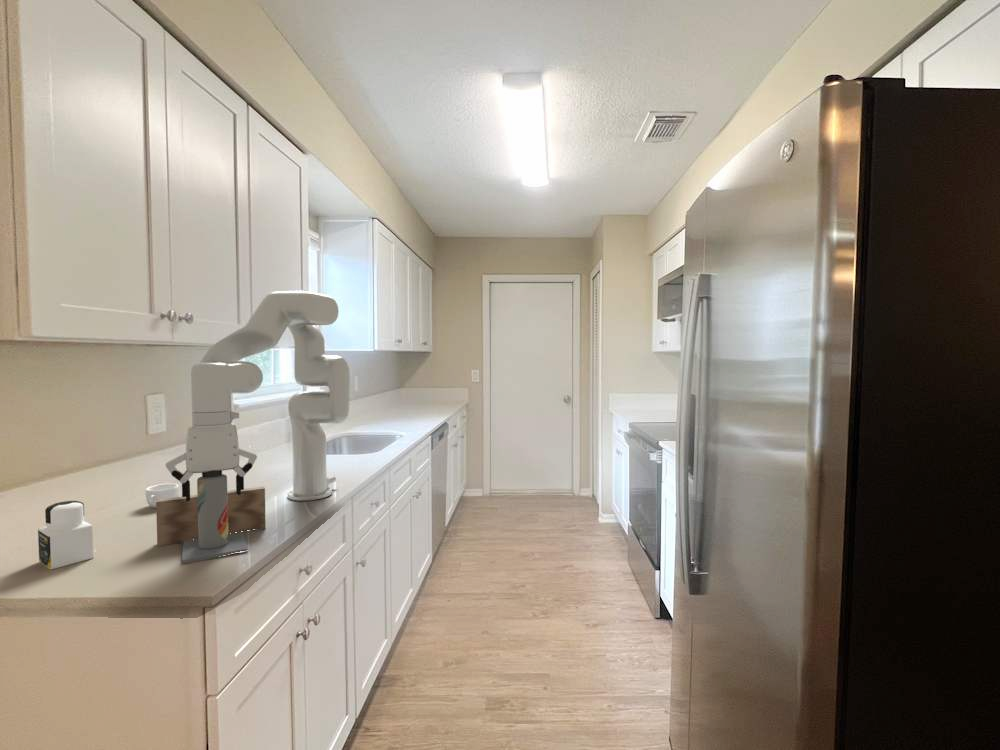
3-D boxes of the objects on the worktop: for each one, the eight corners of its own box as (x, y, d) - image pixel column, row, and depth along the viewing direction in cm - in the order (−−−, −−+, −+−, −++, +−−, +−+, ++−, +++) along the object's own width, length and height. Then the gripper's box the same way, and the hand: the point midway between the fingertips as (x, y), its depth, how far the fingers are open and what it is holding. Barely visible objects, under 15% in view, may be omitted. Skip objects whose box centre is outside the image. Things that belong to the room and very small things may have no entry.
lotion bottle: (233, 539, 113) (231, 452, 112) (219, 549, 107) (217, 458, 106) (208, 539, 113) (206, 452, 112) (193, 549, 107) (190, 457, 106)
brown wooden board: (264, 526, 124) (263, 486, 124) (265, 528, 122) (264, 488, 122) (157, 543, 113) (156, 499, 112) (157, 546, 111) (156, 502, 111)
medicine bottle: (38, 562, 102) (36, 504, 102) (82, 550, 108) (80, 496, 108) (50, 570, 99) (47, 510, 98) (94, 558, 104) (92, 501, 104)
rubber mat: (243, 534, 118) (243, 531, 118) (247, 552, 108) (247, 548, 108) (183, 544, 112) (183, 541, 112) (182, 564, 102) (182, 560, 102)
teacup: (155, 502, 144) (155, 483, 144) (184, 501, 145) (183, 483, 145) (135, 513, 134) (134, 493, 134) (166, 512, 135) (165, 492, 135)
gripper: (254, 414, 116) (255, 487, 117) (165, 419, 107) (167, 498, 108) (257, 418, 110) (259, 495, 111) (163, 424, 101) (165, 507, 102)
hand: (213, 496), depth 109 cm, fingers open, 9 cm apart
